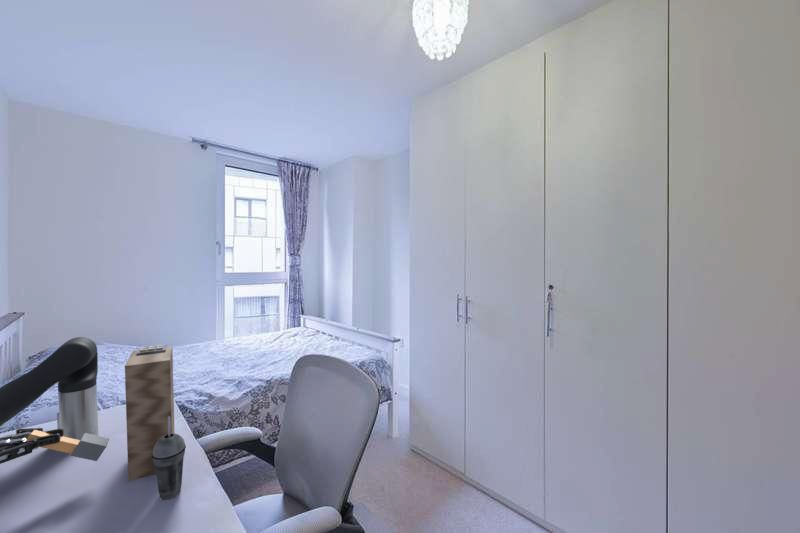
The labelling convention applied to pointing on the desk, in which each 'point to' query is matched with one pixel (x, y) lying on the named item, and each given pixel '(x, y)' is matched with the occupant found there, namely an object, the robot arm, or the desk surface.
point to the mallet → (77, 445)
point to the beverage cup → (169, 464)
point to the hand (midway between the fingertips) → (61, 435)
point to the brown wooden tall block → (148, 405)
